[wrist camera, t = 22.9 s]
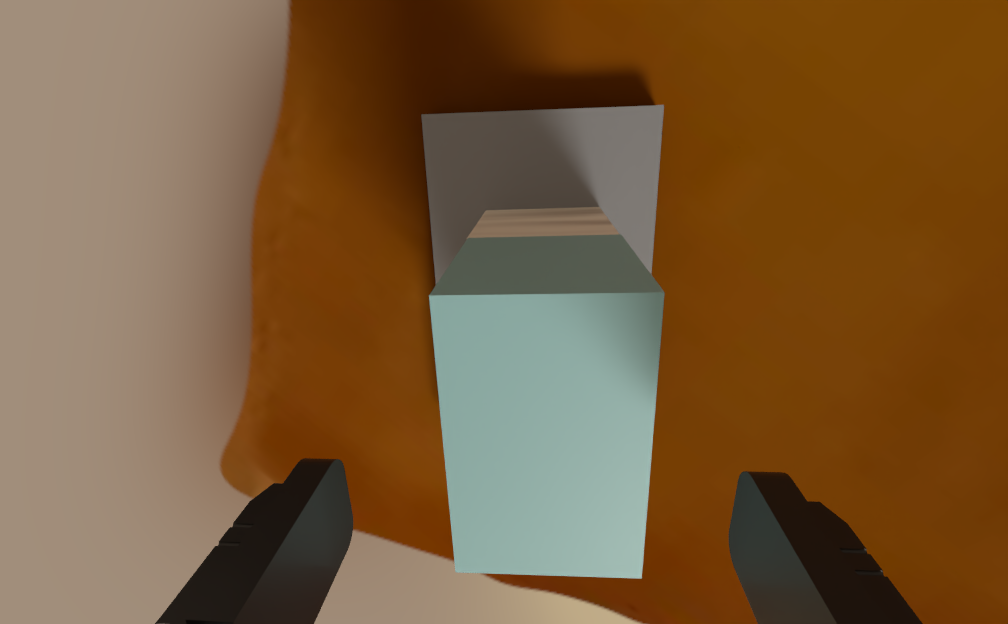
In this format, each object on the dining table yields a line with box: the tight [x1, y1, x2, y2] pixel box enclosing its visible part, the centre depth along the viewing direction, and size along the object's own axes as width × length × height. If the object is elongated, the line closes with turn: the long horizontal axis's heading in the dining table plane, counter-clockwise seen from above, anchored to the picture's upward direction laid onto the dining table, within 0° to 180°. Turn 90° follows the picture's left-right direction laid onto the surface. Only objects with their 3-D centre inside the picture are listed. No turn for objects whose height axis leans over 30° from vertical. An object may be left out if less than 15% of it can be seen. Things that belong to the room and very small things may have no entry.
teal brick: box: [429, 234, 664, 578], centre depth 15 cm, size 8×5×6 cm, turn 2°
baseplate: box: [421, 105, 664, 284], centre depth 24 cm, size 16×10×2 cm, turn 2°
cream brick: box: [467, 207, 619, 239], centre depth 20 cm, size 8×5×6 cm, turn 2°
